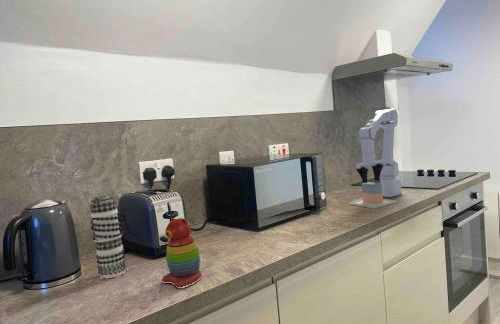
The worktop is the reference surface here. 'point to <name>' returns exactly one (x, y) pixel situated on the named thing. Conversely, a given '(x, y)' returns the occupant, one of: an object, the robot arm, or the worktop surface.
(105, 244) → the decorative candle
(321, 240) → the worktop surface
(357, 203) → the baseplate
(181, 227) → the stacking bear
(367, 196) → the coral brick
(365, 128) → the robot arm
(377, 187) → the slate brick
